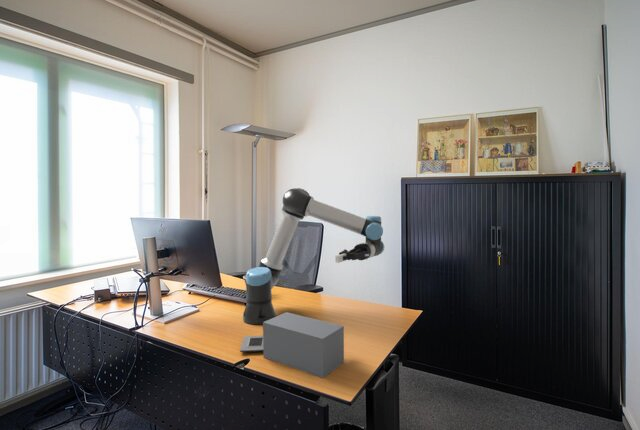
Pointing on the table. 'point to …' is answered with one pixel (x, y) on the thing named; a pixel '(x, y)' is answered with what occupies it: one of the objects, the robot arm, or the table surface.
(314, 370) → the housing
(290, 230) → the robot arm
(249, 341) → the electrical outlet
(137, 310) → the table surface
